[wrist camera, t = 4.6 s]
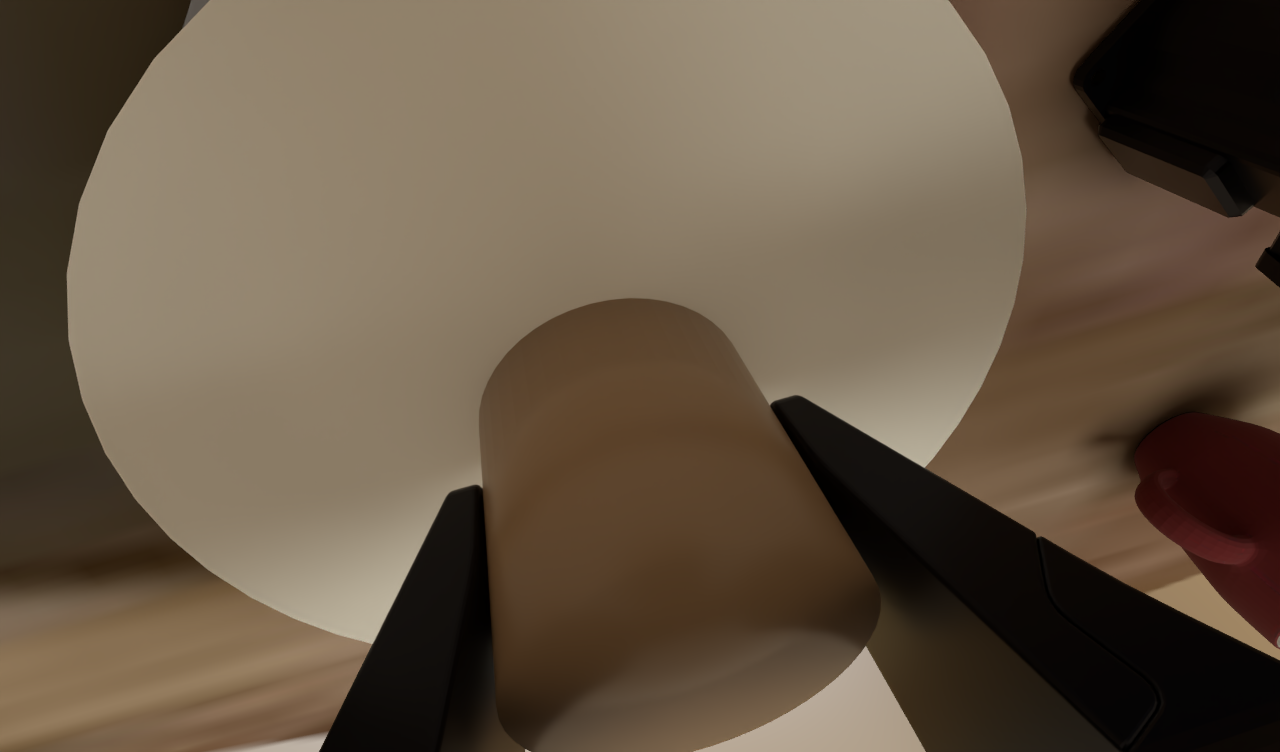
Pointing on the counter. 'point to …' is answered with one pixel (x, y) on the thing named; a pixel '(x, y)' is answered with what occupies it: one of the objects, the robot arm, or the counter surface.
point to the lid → (550, 320)
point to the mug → (1219, 506)
